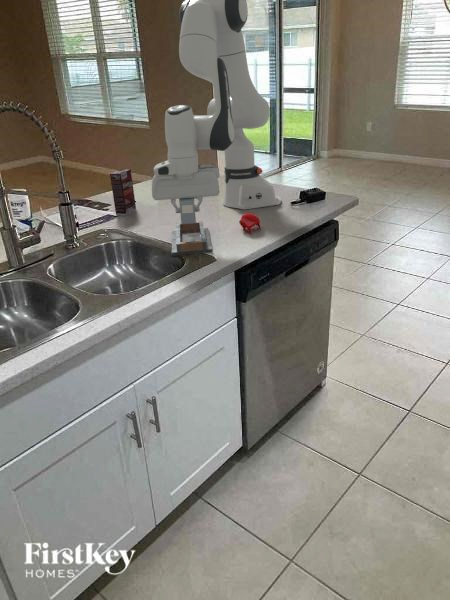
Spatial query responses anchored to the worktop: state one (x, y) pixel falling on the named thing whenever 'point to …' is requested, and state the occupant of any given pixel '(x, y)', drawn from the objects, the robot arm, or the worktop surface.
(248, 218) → the red toy chair
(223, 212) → the worktop surface
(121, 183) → the supplement box
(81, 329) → the worktop surface
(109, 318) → the worktop surface
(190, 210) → the block
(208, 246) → the grey tray
